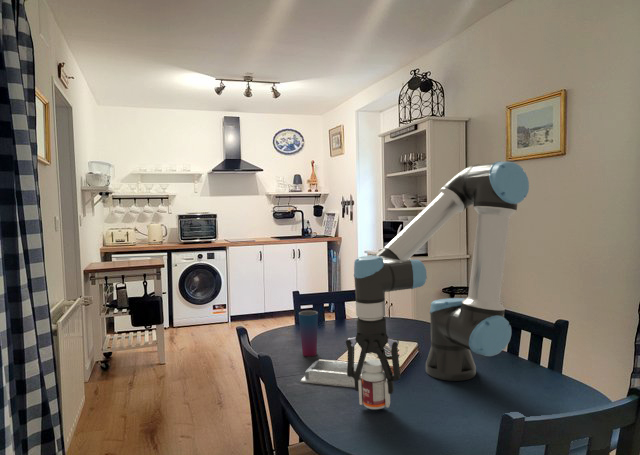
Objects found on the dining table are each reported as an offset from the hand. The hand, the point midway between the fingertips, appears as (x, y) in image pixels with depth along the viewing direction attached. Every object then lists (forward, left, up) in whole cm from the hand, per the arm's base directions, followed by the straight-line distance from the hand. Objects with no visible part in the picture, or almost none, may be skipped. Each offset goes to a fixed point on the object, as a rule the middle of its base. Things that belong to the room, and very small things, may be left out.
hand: (374, 403), depth 121 cm
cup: (+31, -38, -2) cm, 49 cm away
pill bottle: (0, 0, -1) cm, 1 cm away
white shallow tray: (+13, -20, -2) cm, 24 cm away
